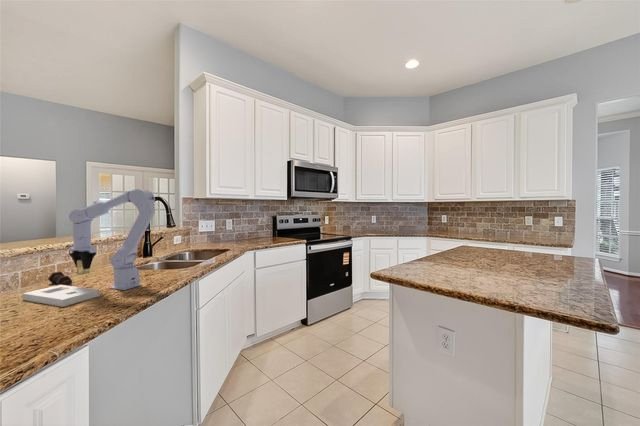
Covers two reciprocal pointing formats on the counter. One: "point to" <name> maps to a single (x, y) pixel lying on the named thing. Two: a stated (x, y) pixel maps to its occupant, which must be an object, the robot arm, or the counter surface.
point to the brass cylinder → (81, 268)
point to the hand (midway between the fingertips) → (83, 268)
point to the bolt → (60, 279)
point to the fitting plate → (61, 295)
